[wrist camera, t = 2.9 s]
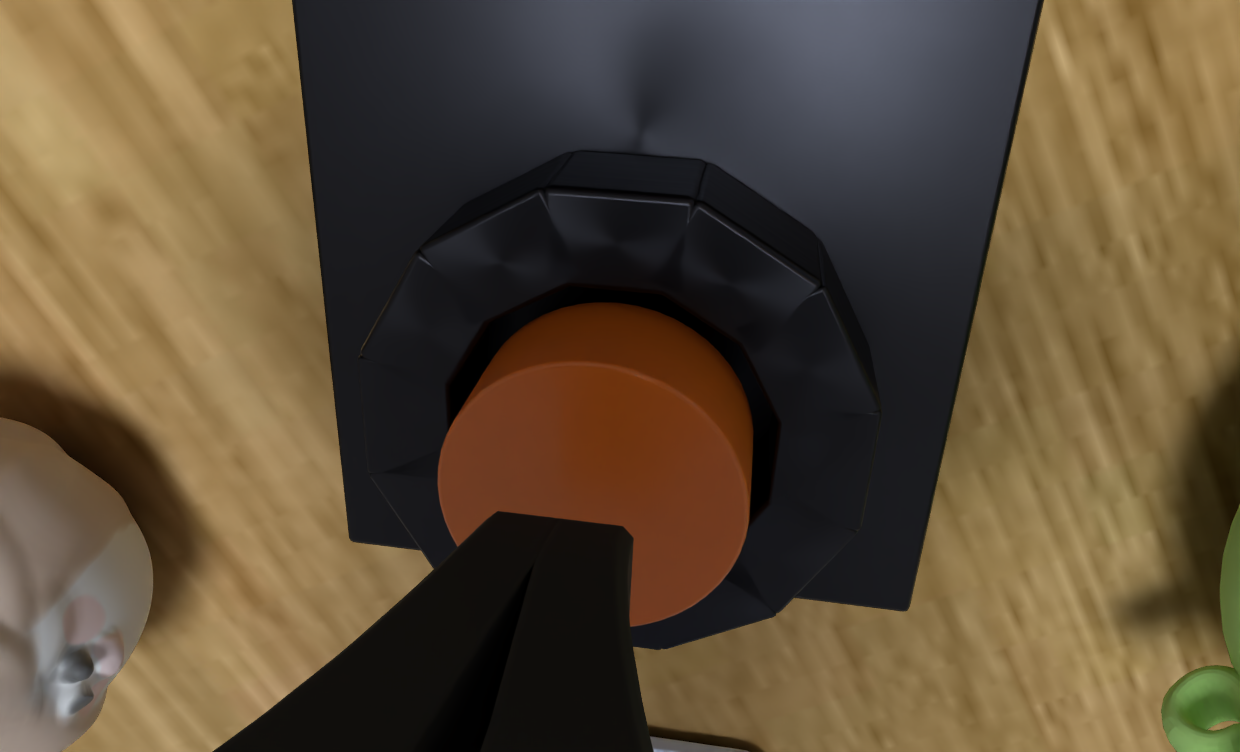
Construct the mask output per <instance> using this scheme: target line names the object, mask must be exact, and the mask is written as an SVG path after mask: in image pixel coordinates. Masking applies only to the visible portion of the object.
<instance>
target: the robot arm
mask: <svg viewBox="0 0 1240 752" xmlns="http://www.w3.org/2000/svg"><path fill="white" fill-rule="evenodd" d="M633 542H634V538H633V537H632V535H631V534H630V533H629V532H628V531H627V530H626V529H625V528H624V527H623V526H619V525H611V524H602V523H594V522H586V521H577V520H569V519H561V518H552V517H544V516H536V515H528V514H519V513H511V512H503V511H497V512H496V513H494V514H493V515H492V516H490V517H489V518H488V519H486V520H485V521H484V522H483V523H482V524H481V525H480V526H479V527H478V528H477V529H476V530H475V531H474V532H473V533H472V534H471V535H470V536H469V537H467V538H466V539H465V540H464V541H463V542H462V543H461V544H460V545H459V546H458V547H457V548H456V549H455V550H454V551H453V552H452V553H451V554H450V555H449V556H448V557H447V558H446V559H445V560H444V561H442V562H441V563H440V564H439V565H438V566H437V567H436V568H435V569H434V570H433V571H432V572H431V573H430V574H429V575H428V576H426V577H425V578H424V579H423V580H422V581H421V582H420V583H419V584H418V585H417V586H416V587H415V588H414V589H413V590H411V591H410V592H409V593H408V594H407V595H406V596H405V597H404V598H403V599H402V600H400V601H399V602H398V603H397V604H396V605H395V606H394V607H392V608H391V609H390V610H389V611H388V612H387V613H386V614H385V615H383V616H382V617H381V618H380V619H379V620H378V621H377V622H375V623H374V624H373V625H372V626H371V627H370V628H369V629H367V630H366V631H365V632H364V633H363V634H362V635H361V636H360V637H358V638H357V639H356V640H355V641H354V642H353V643H352V644H350V645H349V646H348V647H347V648H346V649H344V650H343V651H342V652H341V653H340V654H339V655H337V656H336V657H335V658H334V659H332V660H331V661H330V662H329V663H327V664H326V665H325V666H324V667H322V668H321V669H320V670H319V671H317V672H316V673H315V674H314V675H312V676H311V677H310V678H309V679H307V680H306V681H305V682H304V683H302V684H301V685H300V686H299V687H297V688H296V689H295V690H293V691H292V692H291V693H290V694H288V695H287V696H286V697H285V698H283V699H282V700H281V701H280V702H278V703H277V704H276V705H275V706H273V707H272V708H271V709H270V710H268V711H267V712H266V713H265V714H263V715H262V716H261V717H259V718H258V719H257V720H255V721H254V722H253V723H251V724H250V725H248V726H247V727H246V728H244V729H243V730H242V731H240V732H239V733H238V734H236V735H235V736H234V737H232V738H231V739H229V740H228V741H227V742H225V743H224V744H223V745H221V746H220V747H218V748H217V749H215V750H214V751H213V752H749V751H746V750H741V749H734V748H727V747H720V746H713V745H706V744H699V743H693V742H686V741H679V740H672V739H665V738H658V737H651V736H650V735H649V730H648V726H647V721H646V716H645V712H644V707H643V703H642V697H641V691H640V686H639V680H638V674H637V668H636V662H635V657H634V651H633V644H632V636H631V628H630V617H629V614H630V596H631V578H632V560H633Z"/></svg>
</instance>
